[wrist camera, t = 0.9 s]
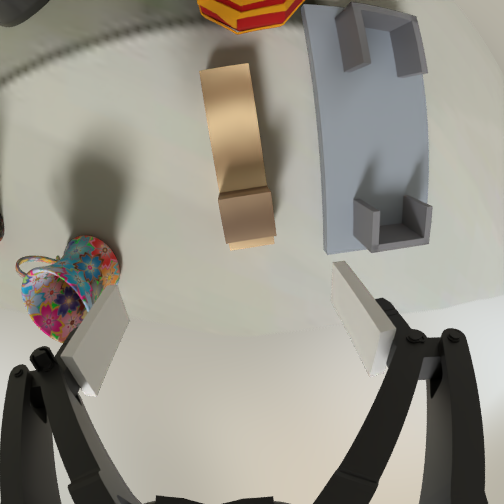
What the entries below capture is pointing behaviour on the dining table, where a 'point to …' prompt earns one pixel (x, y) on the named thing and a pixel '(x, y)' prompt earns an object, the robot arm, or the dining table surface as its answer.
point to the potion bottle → (248, 13)
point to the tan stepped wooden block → (238, 157)
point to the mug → (68, 285)
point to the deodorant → (1, 228)
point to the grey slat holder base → (370, 126)
